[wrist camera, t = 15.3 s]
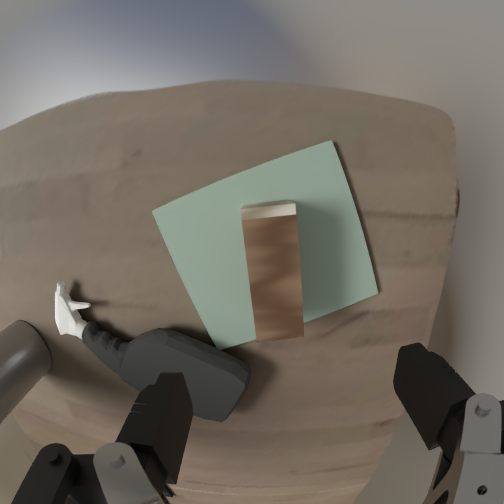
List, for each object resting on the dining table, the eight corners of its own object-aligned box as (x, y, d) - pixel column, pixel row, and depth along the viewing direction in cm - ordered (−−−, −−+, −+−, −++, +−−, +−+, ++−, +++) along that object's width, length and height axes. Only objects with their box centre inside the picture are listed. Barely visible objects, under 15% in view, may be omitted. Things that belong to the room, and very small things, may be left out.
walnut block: (256, 341, 23) (240, 209, 20) (257, 315, 28) (243, 204, 25) (304, 336, 23) (295, 203, 20) (296, 311, 28) (287, 199, 25)
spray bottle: (225, 413, 32) (62, 333, 31) (259, 357, 29) (65, 266, 28) (221, 429, 29) (50, 344, 28) (257, 375, 26) (50, 275, 25)
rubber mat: (218, 347, 30) (217, 350, 29) (154, 210, 26) (151, 210, 25) (376, 291, 28) (378, 293, 27) (330, 140, 24) (331, 140, 24)
